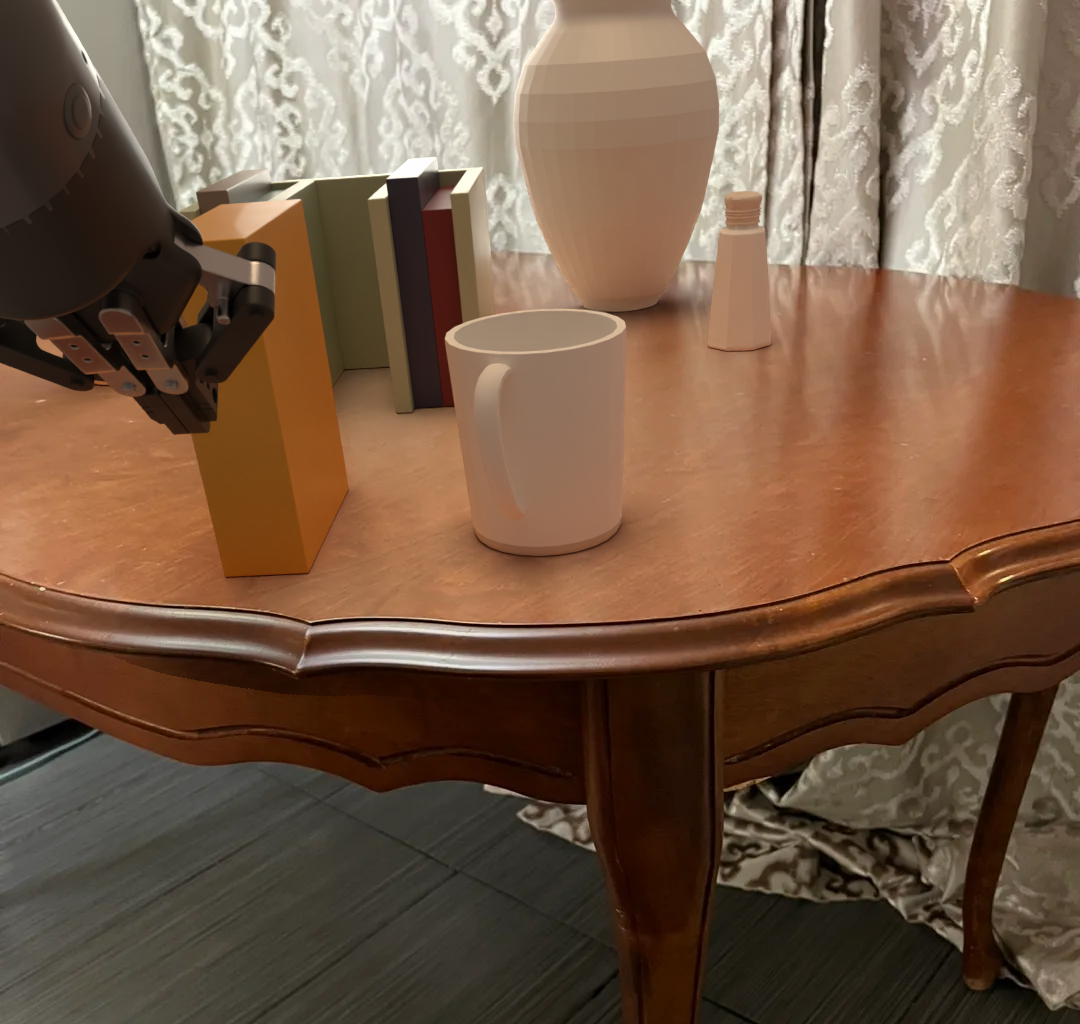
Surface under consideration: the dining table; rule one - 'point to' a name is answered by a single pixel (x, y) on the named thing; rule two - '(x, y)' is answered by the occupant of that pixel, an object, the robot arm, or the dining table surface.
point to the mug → (541, 426)
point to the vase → (616, 145)
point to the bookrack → (388, 265)
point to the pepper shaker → (741, 279)
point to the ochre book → (272, 410)
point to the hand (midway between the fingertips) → (193, 414)
